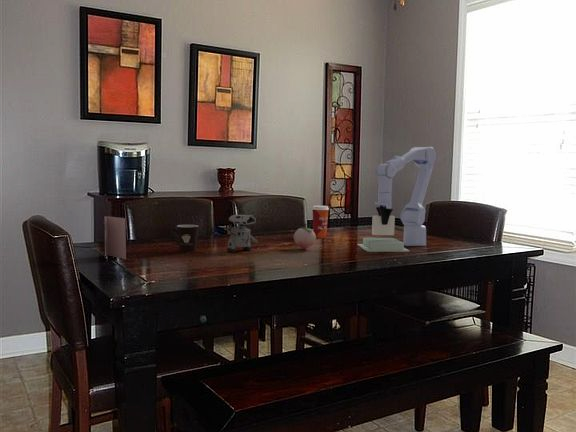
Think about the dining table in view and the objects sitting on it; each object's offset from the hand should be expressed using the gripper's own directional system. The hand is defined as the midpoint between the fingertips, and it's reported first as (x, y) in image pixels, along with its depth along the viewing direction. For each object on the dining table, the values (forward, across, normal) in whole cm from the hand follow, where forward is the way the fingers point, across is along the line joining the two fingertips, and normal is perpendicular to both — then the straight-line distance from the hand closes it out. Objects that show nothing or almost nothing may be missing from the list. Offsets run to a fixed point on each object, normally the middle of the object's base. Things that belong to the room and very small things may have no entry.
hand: (383, 224), depth 234 cm
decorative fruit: (+11, +3, -34) cm, 36 cm away
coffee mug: (+11, +6, -83) cm, 84 cm away
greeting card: (+11, +23, -107) cm, 110 cm away
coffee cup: (+11, -32, -22) cm, 40 cm away
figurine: (+11, +9, -60) cm, 62 cm away
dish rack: (+10, 0, 0) cm, 10 cm away
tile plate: (+4, 0, 0) cm, 5 cm away
